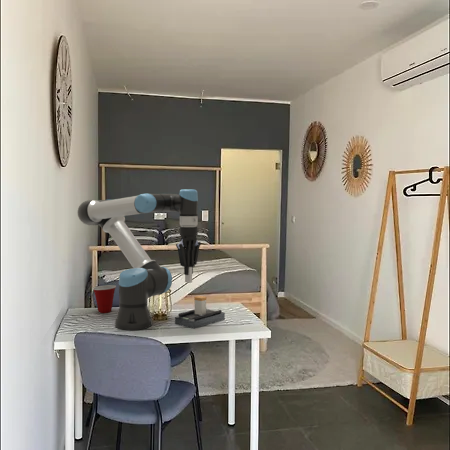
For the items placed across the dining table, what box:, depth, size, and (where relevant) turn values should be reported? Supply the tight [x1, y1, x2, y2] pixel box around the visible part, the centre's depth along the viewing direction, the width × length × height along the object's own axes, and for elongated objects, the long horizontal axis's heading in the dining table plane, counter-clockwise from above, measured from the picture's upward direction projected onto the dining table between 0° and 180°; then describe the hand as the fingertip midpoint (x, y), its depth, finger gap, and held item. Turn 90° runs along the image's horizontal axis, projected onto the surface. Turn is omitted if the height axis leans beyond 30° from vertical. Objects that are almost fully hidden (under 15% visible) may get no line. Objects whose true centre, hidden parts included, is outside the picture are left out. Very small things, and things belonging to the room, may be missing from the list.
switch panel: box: [174, 308, 226, 329], centre depth 215 cm, size 20×11×4 cm, turn 141°
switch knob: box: [193, 295, 207, 315], centre depth 215 cm, size 3×4×7 cm
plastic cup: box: [92, 284, 117, 314], centre depth 232 cm, size 11×11×12 cm
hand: (188, 282), depth 208 cm, fingers closed
